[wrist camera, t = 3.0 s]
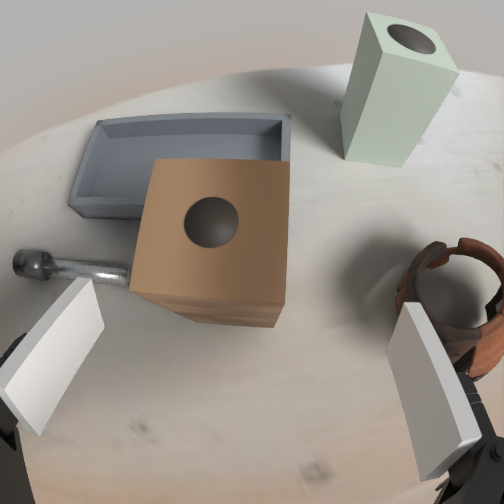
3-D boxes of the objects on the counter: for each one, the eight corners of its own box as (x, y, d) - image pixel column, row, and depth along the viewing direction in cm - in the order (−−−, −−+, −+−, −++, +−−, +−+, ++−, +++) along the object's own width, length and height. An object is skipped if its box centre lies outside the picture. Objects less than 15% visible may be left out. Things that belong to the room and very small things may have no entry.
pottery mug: (402, 415, 18) (418, 381, 12) (377, 307, 25) (373, 240, 19) (534, 362, 15) (583, 307, 10) (494, 271, 22) (516, 201, 16)
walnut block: (196, 321, 20) (128, 290, 10) (204, 249, 22) (155, 158, 11) (273, 327, 20) (284, 302, 9) (277, 253, 21) (289, 160, 11)
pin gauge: (26, 279, 21) (10, 273, 19) (31, 254, 22) (16, 246, 20) (129, 294, 21) (116, 287, 19) (134, 263, 22) (122, 254, 19)
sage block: (344, 160, 24) (383, 51, 13) (339, 114, 25) (366, 10, 14) (401, 167, 23) (459, 72, 13) (392, 122, 25) (434, 28, 14)
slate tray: (83, 218, 23) (67, 204, 20) (108, 137, 25) (97, 120, 23) (286, 226, 22) (288, 210, 19) (288, 135, 24) (290, 114, 22)
